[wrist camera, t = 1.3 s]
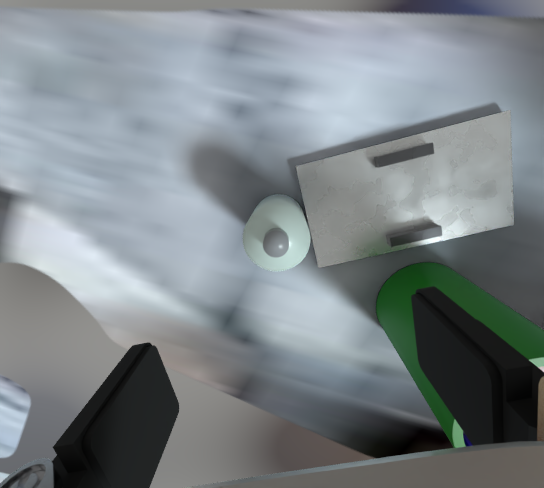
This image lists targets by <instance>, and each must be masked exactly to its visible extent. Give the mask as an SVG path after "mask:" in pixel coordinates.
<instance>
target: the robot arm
mask: <svg viewBox="0 0 544 488" xmlns="http://www.w3.org/2000/svg"><path fill="white" fill-rule="evenodd" d="M411 302H412V311H413V320H414V329H415V338H416V347H417V356H418V362H419V365H420V368H421V370H422V371H423V373H424V374H425V376H426V377H427V379H428V380H429V382H430V383H431V385H432V386H433V388H434V389H435V391H436V392H437V393H438V395H439V396H440V398H441V399H442V401H443V402H444V404H445V405H446V407H447V408H448V410H449V411H450V413H451V414H452V416H453V417H454V418H455V420H456V421H457V423H458V424H459V426H460V427H461V429H462V430H463V432H464V433H465V435H466V436H467V438H468V439H469V441H470V442H471V443H472V445H473V446H467V447H459V448H451V449H443V450H436V451H428V452H420V453H412V454H406V455H399V456H392V457H385V458H378V459H372V460H364V461H357V462H351V463H344V464H337V465H330V466H324V467H316V468H310V469H303V470H296V471H290V472H284V473H277V474H270V475H263V476H257V477H250V478H244V479H238V480H232V481H225V482H218V483H211V484H205V485H198V486H192V487H186V488H544V372H543V371H542V370H541V369H539V368H538V367H537V366H536V365H534V364H533V363H532V362H531V361H529V360H528V359H527V358H526V357H524V356H523V355H522V354H521V353H519V352H518V351H517V350H516V349H514V348H513V347H512V346H511V345H509V344H508V343H507V342H506V341H504V340H503V339H502V338H501V337H499V336H498V335H497V334H496V333H495V332H493V331H492V330H491V329H490V328H488V327H487V326H486V325H485V324H483V323H482V322H481V321H479V320H477V319H475V318H474V317H472V316H471V315H470V314H469V313H467V312H466V311H465V310H464V309H463V308H461V307H460V306H459V305H458V304H456V303H455V302H454V301H453V300H451V299H450V298H449V297H448V296H446V295H445V294H444V293H443V292H442V291H440V290H439V289H438V288H437V287H435V286H431V287H426V288H421V289H417V290H416V293H415V294H413V295H411ZM178 413H179V403H178V400H177V397H176V395H175V392H174V390H173V388H172V385H171V382H170V380H169V377H168V375H167V373H166V370H165V367H164V365H163V362H162V360H161V357H160V355H159V352H158V350H157V348H156V346H154V345H153V346H152V345H151V344H150V343H143V344H138V345H134V346H132V347H131V348H130V349H129V350H128V352H127V353H126V354H125V355H124V357H123V358H122V359H121V361H120V362H119V363H118V365H117V366H116V367H115V368H114V370H113V371H112V372H111V373H110V375H109V376H108V377H107V379H106V380H105V381H104V382H103V384H102V385H101V386H100V388H99V389H98V390H97V391H96V393H95V394H94V395H93V397H92V398H91V399H90V400H89V402H88V403H87V404H86V405H85V407H84V408H83V409H82V411H81V412H80V413H79V414H78V416H77V417H76V418H75V420H74V421H73V422H72V423H71V425H70V426H69V427H68V429H67V430H66V431H65V433H64V434H63V435H62V436H61V438H60V439H59V440H58V441H57V443H56V444H55V445H54V447H53V448H54V450H55V452H56V454H57V456H56V457H55V458H54V460H53V461H51V460H50V459H48V458H41V459H37V460H34V461H31V462H30V463H28V464H26V465H24V466H22V467H20V468H19V469H18V470H16V471H15V472H13V473H12V474H10V475H9V476H8V477H7V478H6V479H5V480H4V481H2V482H1V483H0V488H149V487H150V484H151V482H152V479H153V477H154V474H155V472H156V469H157V467H158V464H159V462H160V459H161V456H162V454H163V451H164V449H165V446H166V444H167V441H168V439H169V436H170V433H171V431H172V428H173V426H174V423H175V420H176V418H177V415H178Z"/></svg>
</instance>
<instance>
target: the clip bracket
mask: <svg viewBox="0 0 544 488" xmlns="http://www.w3.org/2000/svg"><path fill="white" fill-rule="evenodd" d="M295 167H296V172H297V176H298V181H299V185H300V189H301V194H302V198H303V203H304V207H305V211H306V216H307V220H308V225H309V229H310V234H311V238H312V242H313V247H314V251H315V256H316V260H317V264H318V268H321V267H326V266H330V265H335V264H339V263H344V262H348V261H353V260H357V259H362V258H367V257H371V256H376V255H380V254H385V253H389V252H394V251H398V250H403V249H407V248H412V247H416V246H421V245H425V244H430V243H434V242H439V241H443V240H448V239H452V238H457V237H462V236H466V235H471V234H475V233H480V232H484V231H489V230H493V229H498V228H502V227H507V226H511V225H514V210H513V178H512V146H511V114H510V110H508V111H504V112H500V113H496V114H492V115H488V116H484V117H481V118H477V119H473V120H469V121H465V122H461V123H458V124H454V125H450V126H446V127H442V128H439V129H435V130H431V131H427V132H423V133H420V134H416V135H412V136H408V137H404V138H401V139H397V140H393V141H389V142H385V143H381V144H378V145H374V146H370V147H366V148H362V149H359V150H355V151H351V152H347V153H343V154H340V155H336V156H332V157H328V158H324V159H320V160H317V161H313V162H309V163H305V164H301V165H298V166H295Z"/></svg>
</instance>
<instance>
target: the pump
mask: <svg viewBox="0 0 544 488" xmlns="http://www.w3.org/2000/svg"><path fill="white" fill-rule="evenodd" d="M243 245H244V249H245V251H246V253H247V255H248V257H249V258H250V259H251V260H252V262H254V263H255V264H256V265H257V266H259V267H261V268H263V269H266V270H269V271H285V270H288V269H291V268H293V267H295V266H296V265H298V264H299V263H300V262H301V261H302V260H303V259H304V257H305V256H306V254H307V252H308V250H309V247H310V231H309V228H308V225H307V222H306V219H305V216H304V213H303V210H302V208H301V206H300V205H299V204H298V202H297V201H296V200H294V199H293V198H291V197H289V196H287V195H283V194H274V195H270V196H268V197H266V198H264V199H263V200H262V201H260V203H259V204H258V205H257V207H256V208H255V210H254V212H253V213H252V215H251V217H250V218H249V220H248V222H247V224H246V226H245V228H244V232H243Z"/></svg>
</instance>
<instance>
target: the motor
mask: <svg viewBox="0 0 544 488" xmlns="http://www.w3.org/2000/svg"><path fill="white" fill-rule="evenodd" d="M431 286H435V287H437V288H438V289H439V290H440V291H442V292H443V293H444V294H445V295H446V296H448V297H449V298H450V299H451V300H453V301H454V302H455V303H456V304H458V305H459V306H460V307H461V308H463V309H464V310H465V311H466V312H467V313H469V314H470V315H471V316H472V317H474V318H475V319H477V320H479V321H481V322H482V323H483V324H485V325H486V326H487V327H488V328H490V329H491V330H492V331H493V332H495V333H496V334H497V335H498V336H499V337H501V338H502V339H503V340H504V341H506V342H507V343H508V344H509V345H511V346H512V347H513V348H514V349H516V350H517V351H518V352H519V353H521V354H522V355H523V356H524V357H526V358H527V359H528V360H529V361H531V362H532V363H533V364H534V365H536V366H537V367H538V368H539V369H541V370H542V371H543V372H544V330H543V329H541V328H540V327H538V326H537V325H535V324H534V323H532V322H531V321H529V320H528V319H526V318H525V317H523V316H522V315H520V314H519V313H517V312H516V311H514V310H513V309H511V308H510V307H508V306H507V305H505V304H504V303H502V302H500V301H499V300H497V299H496V298H494V297H493V296H491V295H490V294H488V293H487V292H485V291H484V290H482V289H481V288H479V287H478V286H476V285H475V284H473V283H472V282H470V281H469V280H467V279H466V278H464V277H463V276H461V275H460V274H458V273H457V272H455V271H454V270H452V269H450V268H449V267H447V266H444V265H441V264H438V263H429V262H425V263H417V264H413V265H410V266H407V267H405V268H403V269H401V270H399V271H397V272H396V273H395V274H393V275H392V276H391V277H390V278H389V279H388V280H387V281H386V282H385V284H384V285H383V286H382V288H381V290H380V292H379V294H378V297H377V302H376V313H377V317H378V320H379V322H380V324H381V326H382V328H383V329H384V331H385V333H386V334H387V336H388V338H389V339H390V341H391V343H392V344H393V346H394V348H395V349H396V351H397V353H398V354H399V356H400V358H401V359H402V361H403V363H404V364H405V366H406V368H407V369H408V371H409V373H410V374H411V376H412V378H413V380H414V381H415V383H416V385H417V386H418V388H419V390H420V391H421V393H422V395H423V396H424V398H425V400H426V401H427V403H428V405H429V406H430V408H431V410H432V411H433V413H434V415H435V416H436V418H437V420H438V421H439V423H440V425H441V426H442V428H443V430H444V432H445V433H446V435H447V437H448V438H449V440H450V442H451V443H452V445H453V447H454V448H459V447H467V446H473V445H472V443H471V442H470V441H469V439H468V438H467V436H466V435H465V433H464V432H463V430H462V429H461V427H460V426H459V424H458V423H457V421H456V420H455V418H454V417H453V416H452V414H451V413H450V411H449V410H448V408H447V407H446V405H445V404H444V402H443V401H442V399H441V398H440V396H439V395H438V393H437V392H436V391H435V389H434V388H433V386H432V385H431V383H430V382H429V380H428V379H427V377H426V376H425V374H424V373H423V371H422V370H421V368H420V365H419V362H418V356H417V347H416V338H415V329H414V320H413V311H412V302H411V295H413V294H415V293H416V290H417V289H421V288H426V287H431Z"/></svg>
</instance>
